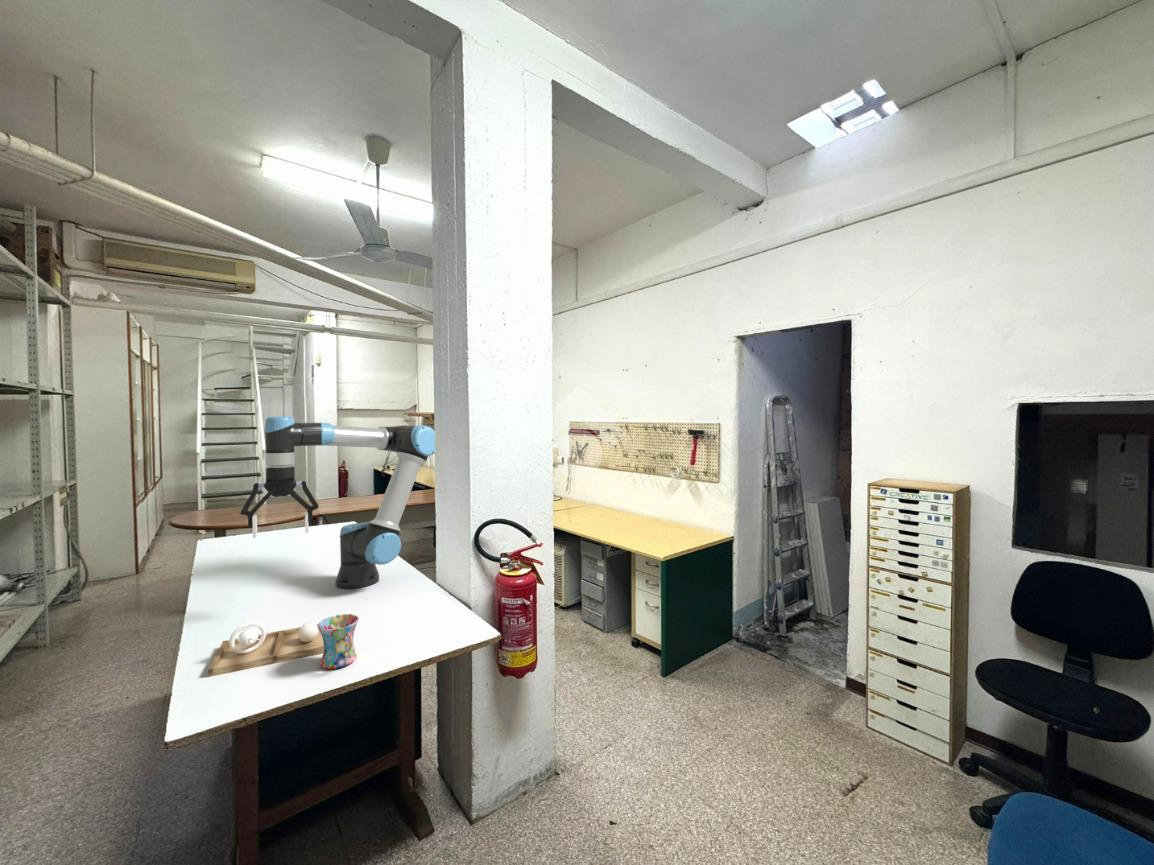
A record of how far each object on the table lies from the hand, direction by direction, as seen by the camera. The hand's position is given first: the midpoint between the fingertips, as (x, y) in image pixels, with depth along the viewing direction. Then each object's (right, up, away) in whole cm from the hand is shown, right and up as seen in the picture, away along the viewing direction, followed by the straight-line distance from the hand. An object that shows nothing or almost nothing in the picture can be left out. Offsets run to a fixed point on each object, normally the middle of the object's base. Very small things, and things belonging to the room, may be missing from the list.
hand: (281, 534), depth 141 cm
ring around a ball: (+6, -27, -22) cm, 35 cm away
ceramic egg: (+17, -26, -15) cm, 35 cm away
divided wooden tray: (+11, -27, -18) cm, 35 cm away
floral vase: (+32, -28, -25) cm, 49 cm away
